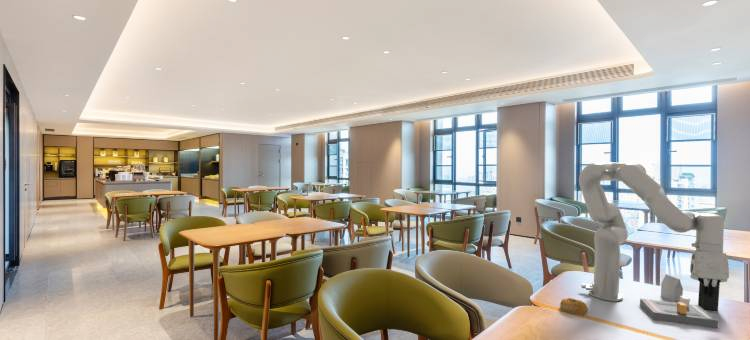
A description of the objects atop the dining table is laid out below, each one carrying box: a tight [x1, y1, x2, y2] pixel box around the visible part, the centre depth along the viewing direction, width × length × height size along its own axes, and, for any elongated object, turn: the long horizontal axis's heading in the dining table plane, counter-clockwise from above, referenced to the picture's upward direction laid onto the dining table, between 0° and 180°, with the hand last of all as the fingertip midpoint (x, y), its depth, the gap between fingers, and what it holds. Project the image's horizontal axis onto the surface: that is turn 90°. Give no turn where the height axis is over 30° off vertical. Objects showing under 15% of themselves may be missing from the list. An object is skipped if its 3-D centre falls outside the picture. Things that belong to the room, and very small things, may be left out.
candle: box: [697, 279, 721, 313], centre depth 151 cm, size 5×5×25 cm
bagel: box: [559, 297, 589, 316], centre depth 149 cm, size 10×11×5 cm
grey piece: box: [660, 273, 684, 303], centre depth 161 cm, size 4×7×10 cm, turn 4°
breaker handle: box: [676, 302, 687, 314], centre depth 140 cm, size 2×3×3 cm, turn 162°
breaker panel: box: [639, 295, 719, 330], centre depth 144 cm, size 20×14×7 cm
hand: (708, 295), depth 137 cm, fingers closed
